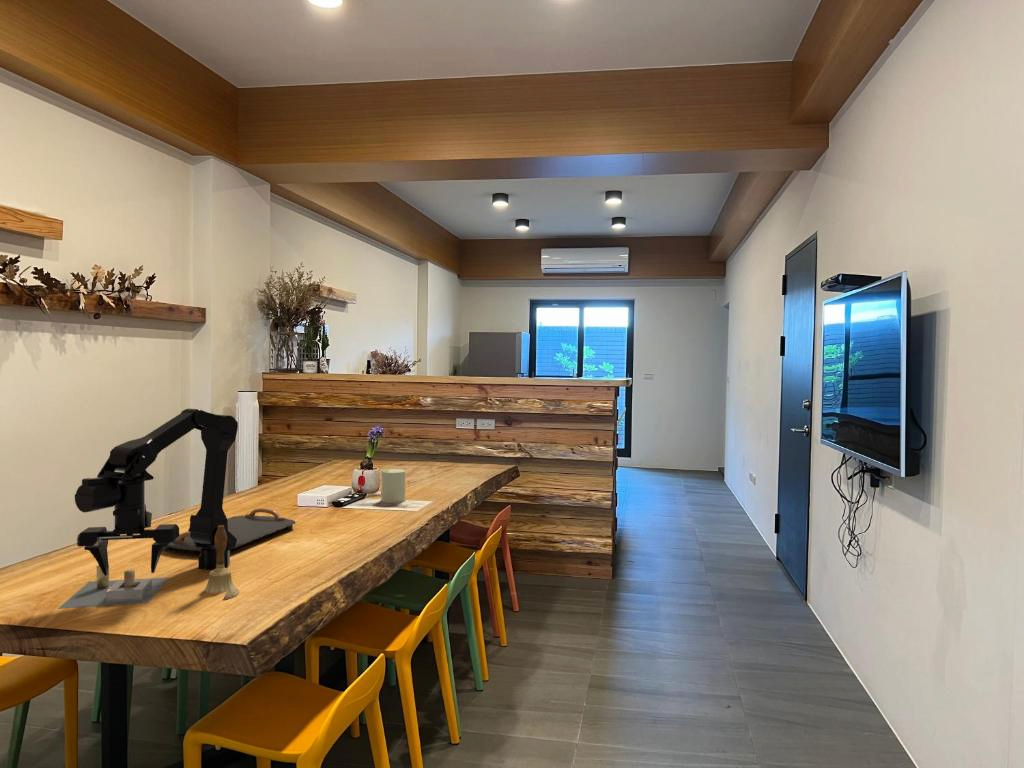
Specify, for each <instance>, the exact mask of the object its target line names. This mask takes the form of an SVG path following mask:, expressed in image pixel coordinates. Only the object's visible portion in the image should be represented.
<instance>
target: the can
mask: <svg viewBox="0 0 1024 768" xmlns="http://www.w3.org/2000/svg"><path fill="white" fill-rule="evenodd" d="M406 471H407V470H405V469H401V468H388V469H387V468H386V469H381V497H380V498H381V499H380V501H381V503H385V504H399V503H404V502H405V501H406Z"/></svg>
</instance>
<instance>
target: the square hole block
mask: <svg viewBox="0 0 1024 768" xmlns="http://www.w3.org/2000/svg"><path fill="white" fill-rule="evenodd" d="M140 579H141V580H135V587H132V588H124V579H121V580H122V581H116V582H115V583H114V584H113V585H112V586H111V587H110V588H109V589H108V590H107V591H106V603H117V602H133V601H143V600H144V598H145V597H146V596H147V595H148V594H149V593H150V591H151V590H152V579H148V578H140Z"/></svg>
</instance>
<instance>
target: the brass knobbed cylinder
mask: <svg viewBox="0 0 1024 768" xmlns="http://www.w3.org/2000/svg"><path fill="white" fill-rule="evenodd" d="M96 581H97V589H99V590H101V589H107V588H109V581H110V571H109V572H108V575H107V576H105V575H104V573H103V571H102V570H101V568H100V566H99V564H98V565H96Z"/></svg>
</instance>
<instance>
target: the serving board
mask: <svg viewBox="0 0 1024 768" xmlns="http://www.w3.org/2000/svg"><path fill="white" fill-rule="evenodd" d="M257 513H265V514H270V515H272V516H270V515H256V514H257ZM227 520H228V531H229V532H230V533H231V534H232V535H233V536H234V537H235V538H236V539H237V542H236V546H235V548H232V549H231V550H233V549H236V548H238V547H241V546H244V545H246V544H249V543H251V542H253V541H256V540H258V539H261V538H264V537H265V536H268V535H271V534H273V533H276V532H279V531H281V530H283V529H285V530H292V529H293V525H295V524H297V522H296V520H294V519H290V518H285V517H284V516H281V515H280V514H279V512H277V511H276V510H274V509H272V508H262V507H261V508H255V509H254V510H252V511H251V512H250V513H246V514H245V515H235V516H231V517H227ZM173 549H178V550H183V551H192V552H193V551H195V552H201V549H202V548H196V547H195V544H194V541H193V539H191V537H190V532H188V531H185V532H183V533H181V534H180V533H179V536H178V537H177V539H176V540H175V541H174V542H170V543H169V544H168V545H167V546H165V547H164V549H163V550H164V551H166V552H167V551H172V550H173Z"/></svg>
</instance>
